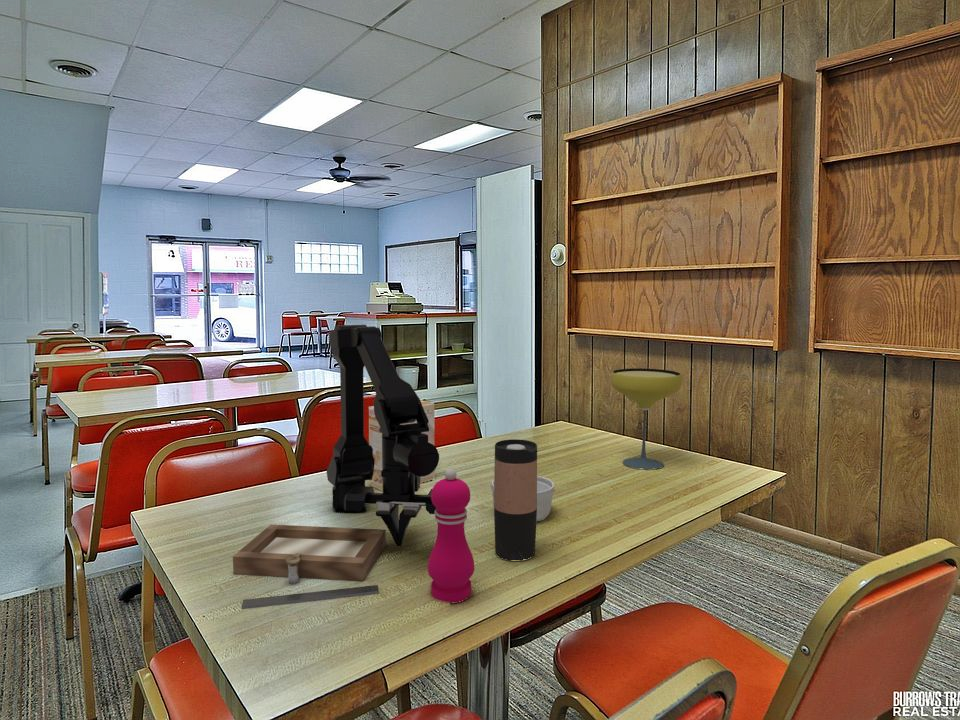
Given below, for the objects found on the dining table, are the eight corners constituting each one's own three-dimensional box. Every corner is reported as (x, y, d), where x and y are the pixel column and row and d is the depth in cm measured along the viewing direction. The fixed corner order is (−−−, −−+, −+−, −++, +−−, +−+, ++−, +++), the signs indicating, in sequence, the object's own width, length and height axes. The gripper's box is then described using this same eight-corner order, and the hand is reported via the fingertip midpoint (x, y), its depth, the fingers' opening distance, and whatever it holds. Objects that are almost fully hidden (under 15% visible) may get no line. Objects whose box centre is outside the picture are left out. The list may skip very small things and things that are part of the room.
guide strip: (377, 589, 98) (377, 584, 98) (378, 595, 96) (378, 590, 96) (243, 604, 93) (243, 599, 93) (241, 611, 91) (241, 606, 91)
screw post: (299, 581, 100) (298, 560, 100) (298, 585, 99) (298, 565, 98) (289, 582, 100) (288, 561, 100) (288, 587, 98) (287, 566, 98)
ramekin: (559, 508, 134) (560, 476, 133) (545, 530, 122) (546, 496, 121) (501, 501, 139) (501, 470, 138) (482, 521, 126) (482, 488, 125)
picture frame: (385, 545, 113) (385, 525, 113) (358, 588, 97) (357, 565, 97) (271, 539, 116) (270, 520, 115) (225, 581, 100) (224, 558, 99)
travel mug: (491, 545, 115) (492, 439, 112) (532, 543, 115) (533, 438, 113) (496, 563, 107) (496, 450, 105) (539, 561, 108) (541, 449, 105)
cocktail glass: (689, 463, 168) (693, 372, 165) (659, 478, 155) (663, 379, 152) (629, 451, 180) (631, 366, 177) (596, 465, 166) (598, 372, 164)
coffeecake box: (384, 493, 144) (383, 410, 141) (368, 485, 149) (366, 406, 147) (436, 480, 153) (435, 402, 151) (419, 473, 159) (418, 398, 156)
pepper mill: (447, 578, 101) (446, 459, 99) (483, 591, 97) (483, 467, 95) (418, 596, 95) (416, 470, 93) (455, 610, 91) (455, 479, 89)
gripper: (457, 451, 117) (457, 530, 119) (360, 448, 119) (362, 526, 121) (447, 468, 106) (447, 555, 108) (341, 464, 108) (343, 550, 110)
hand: (399, 545), depth 112 cm, fingers closed
